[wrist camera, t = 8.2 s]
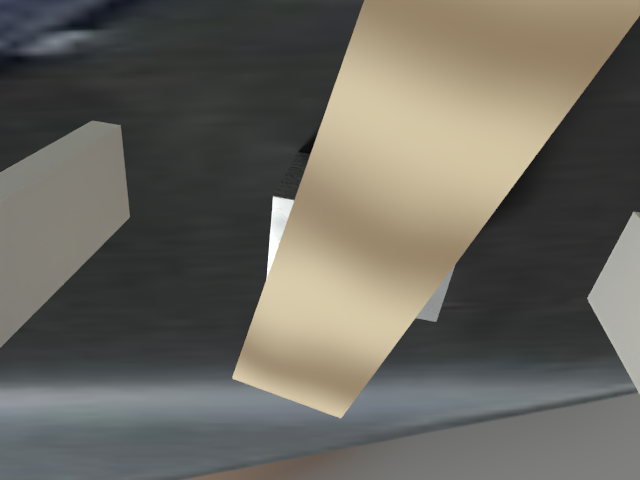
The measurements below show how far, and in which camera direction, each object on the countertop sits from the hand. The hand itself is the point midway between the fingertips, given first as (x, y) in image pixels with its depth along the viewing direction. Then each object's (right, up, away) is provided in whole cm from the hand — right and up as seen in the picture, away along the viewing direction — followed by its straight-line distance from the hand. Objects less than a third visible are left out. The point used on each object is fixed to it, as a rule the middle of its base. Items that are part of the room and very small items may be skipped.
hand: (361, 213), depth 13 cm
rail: (+2, +4, +7) cm, 9 cm away
